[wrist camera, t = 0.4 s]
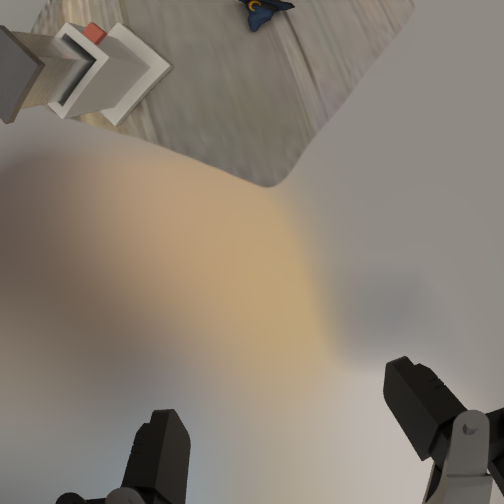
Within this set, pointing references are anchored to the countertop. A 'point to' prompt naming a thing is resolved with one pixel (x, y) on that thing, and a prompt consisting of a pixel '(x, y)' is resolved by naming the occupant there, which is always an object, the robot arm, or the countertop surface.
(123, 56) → the stand
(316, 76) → the countertop surface
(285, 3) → the toy
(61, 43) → the column
